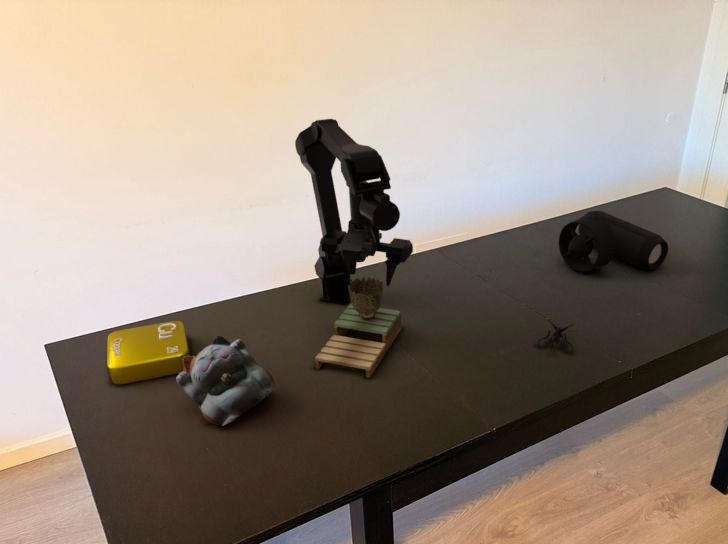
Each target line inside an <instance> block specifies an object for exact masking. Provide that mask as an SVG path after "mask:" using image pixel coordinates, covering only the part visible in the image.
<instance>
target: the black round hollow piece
mask: <svg viewBox="0 0 728 544" xmlns="http://www.w3.org/2000/svg"><path fill="white" fill-rule="evenodd" d="M584 215H585V214H584ZM584 215H583V216H581V217H579V218H578V219H575V220H573V221H570V222H568V223H567V224H566V225H564V226H563V228H561V231H560V232H559V237H558V249H559V253H560V255H561V258H562V259H563V261H564V263H565V264H566V265H567V266H568V267H569V268H571V269H572V271H574V272H576V273H578V274H586V273H589V272H591V271H592V270H594V269H598V268H601V267H602V268H603V267H605V266H607V265H608V264H609V263H610V262H611V261H612V259H613V258H614V257H615V256H614V253H615V249H616V240H615V235H614V232H613V230H612V228H611V227H610V225H609V224H608V223H607V222H606V221H605V220H604V219H603V218H601V217H599V216H597V215H592V214H590V215H585V216H584ZM579 224H581V225H584V226H585V227H587V228H588V229H589V230H590V231H591V232H592V233H593V235H594V236H593V237H591V238H590V237H589V236H587V235H586V234H578V233H577V232H576V230H577V228H578V227H579ZM593 239H596V242H597V246H598V248H597V255H596V256H597V257H596V259H595V262H594V263H593V262H592V261H591V259H590V255H591V254H592V253H593V249H594V246H593V243H592V240H593Z"/></svg>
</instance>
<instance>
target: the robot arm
mask: <svg viewBox="0 0 728 544" xmlns="http://www.w3.org/2000/svg"><path fill="white" fill-rule="evenodd" d="M294 145H295V150H296V154H297V155H298V156H299V159H300V164H302V166H303V167H304V168H305V169H306V170H307V172H308V173H309V174H310V178H311V183H312V188H313V193H314V199H315V204H316V209H317V213H318V219H319V225H320V229H321V235H322V237H321V238H320V240H319V245H318V249H317V250H318V258H317V260H316V262H315V264H314V266H313V267H314V272H315V274H316V276H317V277H318V278H319V279H320V280H321V287H322V296H320V301H322V302H328V303H333V304H334V303H335V304H341V305H345V304H346V303H347V302H348V301H349V300H350V299H351V298H350V294H349V289H348V285H349V286H351V283H350V282H351V281H353V279H351V276H352V275H356V272H357V263H363V262H365V261H366V258H368V257H374V256H375V255H376V253H377V252H378V253H385V258H386V260H385V261H384V263H385V265H386V270H385V271H386V275H385V282H386V283H385V284H386V287H389V286H390V285H391V283H392V281H393V277H394V274H395V272H396V269H397V267H398V266H399V265H400V264H403V263H406V262H407V260H408V259H409V258H410V256H411V255H412V254H413V253H414V250H413V249H414V245H413V243H412V242H411V239H403V238H397V237H394V238H393V239H392V240H391V241H390V242H389V243H388V242H381V240H382V238H383V233H381V232H380V231H382V232H387V231H391V230H393V229H394V228H395V227H396V226H397V225H398V223H399V221H400V218H401V217H400V216H401V211H400V208H399V207H398V206H397V204H396V203H394V202H393V201H392V200H391V196H390V195H389V194H388V193H386V192H385V190H390V189H392V186H391V182H390V181H391V176H390V175H389V172H388V169H387V167H386V163H385V162H384V160H383V157H382V155H381V154H380V153H379V152H378V151H377V149H375V148H373V147H371V146H370V145H364V144H361V143H358V142H356V141H355V140H354V139H353V137H351V136H350V135H349V134H348V133H347V132H346V131H345V130H344V129H343V128H342V127H341V126H340V125H339V122H338V121H337V119H335V118H334V119H333V118H325V119H316V120H315V121H312V122H311V123H310V126H308V127H306V128H305V129H303V130H301V131H300V132H299V133H298V135H297V136H296V139H295V142H294ZM336 160H338V161H339V162H340V173H341V175H342V176H343V179H344V181H345V185H346V186H347V187H348V196H349V199H348V200H349V212H350V219H349V220H348V225H347V231H345V230H343V227H342V221H341V217H340V216H341V215H340V210H339V206H338V200H337V194H336V189H335V184H334V179H333V173H332V171H333V167H334V165H335V163H336Z"/></svg>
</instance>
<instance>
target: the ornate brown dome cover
mask: <svg viewBox="0 0 728 544" xmlns="http://www.w3.org/2000/svg"><path fill="white" fill-rule="evenodd" d="M350 283H351V286H349V285H348V289H349V294H350V298H349V299H350V302H351V304H352V306H353V308H354V309H355V310H356V311H357V312H358V313H359V316H360V318H362V319H364V320H370V319H373V318H374V317H375V315H376V311H377V310H378V309H379V308H381V306H382V302H383V291H384V284H383V281H380V279H377V280H376V279H375V278H374V277H372V278H371V277H370V276H368V277H367V278H365V277H362V278H361V279H360V278H358V277H356V278H355V279H354V280H352V281H351V282H350Z"/></svg>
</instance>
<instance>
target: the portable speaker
mask: <svg viewBox="0 0 728 544" xmlns="http://www.w3.org/2000/svg"><path fill="white" fill-rule="evenodd" d="M590 214H592V215H597V216H599V217H601V218H603V219H604V220H605V221H606V222H607V223H608V224H609V225H610V227H611V228H612V230H613V232H614V235H615V240H616V249H615V253H614V256H613V257H616V258H618V259H619V260H622V261H624V262H626V263H628V264H630V265H632V266H634V267H637V268H638V269H641V270H646V271H647V270H651V271H652V270H653V271H655V270H656V269H659V268H660V267H661V265H663V263H664V261H665V260H666V259H667V256H668V252H669V243H668V242H667V240H665V239H664V238H663V237H662V235H660V234H658V233H656V232H653V231H651V230H648V229H646V228H644V227H641V226H639V225H637V224H634V223H632V222H629V221H627V220H624V219H622V218H619V217H617V216H616V215H612V214H611V213H607V212H605V211H602V210H590V211H588V212H586V213H585V214H584V215H583V216H585V215H590ZM580 234H586V235H587V236H589V237H590V238H591V237H593V236H594V235H593V233H592V232H591V231H590V230H589V229H588V228H587V227H585V226H584V225H581V224H579V225H578V235H580ZM592 243H593V248H596V249H598V246H597V242H596V239H593V240H592Z"/></svg>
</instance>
